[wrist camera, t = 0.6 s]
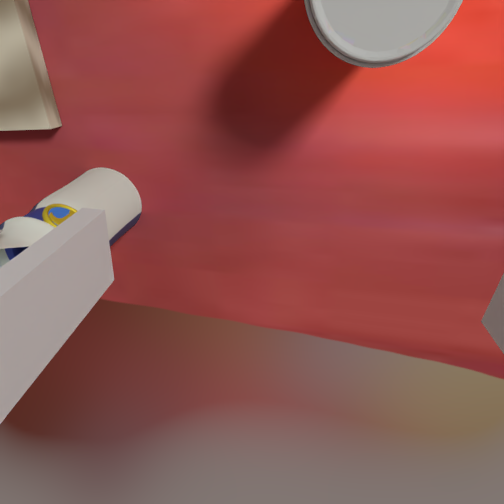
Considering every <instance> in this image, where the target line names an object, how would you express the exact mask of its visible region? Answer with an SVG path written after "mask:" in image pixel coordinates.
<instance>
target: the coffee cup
mask: <svg viewBox="0 0 504 504" xmlns="http://www.w3.org/2000/svg"><path fill="white" fill-rule="evenodd" d="M462 1H463V0H304V3H305V7H306V12H307V15H308V18H309V21H310V24H311V26H312V28H313V30H314V32H315V34H316V35H317V37H318V38H319V40H320V41H321V42H322V44H323V45H324V46H325V47H326V48H327V49H328V50H329V51H330V52H331V53H332V54H334V55H335V56H336V57H338V58H340V59H341V60H343V61H345V62H347V63H350V64H353V65H356V66H361V67H369V68H376V67H385V66H390V65H394V64H397V63H400V62H402V61H405V60H407V59H409V58H411V57H413V56H415V55H416V54H418V53H419V52H421V51H422V50H424V49H425V48H426V47H428V46H429V45H430V44H431V43H432V42H433V41H434V40H435V39H436V38H438V37H439V35H440V34H441V33H442V32H443V31H444V30H445V29H446V27H447V26H448V25H449V23H450V22H451V20H452V19H453V17H454V16H455V14H456V13H457V11H458V9H459V7H460V5H461V3H462Z"/></svg>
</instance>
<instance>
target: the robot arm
mask: <svg viewBox="0 0 504 504" xmlns="http://www.w3.org/2000/svg"><path fill="white" fill-rule="evenodd" d="M113 281H114V274H113V267H112V259H111V252H110V244H109V237H108V229H107V222H106V214H105V210H101V209H91V208H81V209H80V210H79V211H77V212H76V213H74V214H73V215H72V216H70V217H69V218H68V219H66V220H65V221H64V222H62V223H61V224H59V225H58V226H57V227H55V228H54V229H53V230H51V231H50V232H49V233H47V234H46V235H44V236H43V237H42V238H40V239H39V240H38V241H36V242H35V243H33V244H32V245H31V246H29V247H28V248H27V249H25V250H24V251H23V252H21V253H20V254H18V255H17V256H16V257H14V258H13V259H12V260H10V261H9V262H7V263H6V264H5V265H3V266H2V267H1V268H0V424H1V422H2V421H3V420H4V418H5V417H6V416H7V415H8V413H9V412H10V411H11V410H12V408H13V407H14V406H15V405H16V403H17V402H18V401H19V400H20V398H21V397H22V396H23V394H24V393H25V392H26V390H27V389H28V388H29V387H30V386H31V384H32V383H33V382H34V381H35V379H36V378H37V377H38V375H39V374H40V373H41V372H42V370H43V369H44V368H45V367H46V365H47V364H48V363H49V361H50V360H51V359H52V358H53V356H54V355H55V354H56V353H57V351H58V350H59V349H60V347H61V346H62V345H63V344H64V342H65V341H66V340H67V339H68V338H69V336H70V335H71V334H72V333H73V331H74V330H75V329H76V327H77V326H78V325H79V324H80V322H81V321H82V320H83V319H84V317H85V316H86V315H87V314H88V312H89V311H90V310H91V308H92V307H93V306H94V305H95V303H96V302H97V301H98V300H99V298H100V297H101V296H102V295H103V293H104V292H105V291H106V290H107V288H108V287H109V286H110V284H111V283H112V282H113ZM481 322H482V324H483V325H484V326H485V328H486V329H487V331H488V332H489V334H490V335H491V336H492V338H493V339H494V341H495V342H496V343H497V345H498V346H499V348H500V349H501V351H502V352H503V353H504V274H503V276H502V278H501V280H500V282H499V284H498V287H497V289H496V291H495V293H494V295H493V297H492V299H491V302H490V304H489V306H488V308H487V310H486V312H485V314H484V316H483V319H482V321H481Z"/></svg>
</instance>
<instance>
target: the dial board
mask: <svg viewBox="0 0 504 504" xmlns="http://www.w3.org/2000/svg"><path fill="white" fill-rule="evenodd" d="M60 126H62V124H61V120H60V117H59V113H58V109H57V106H56V102H55V98H54V95H53V91H52V87H51V84H50V80H49V76H48V73H47V69H46V65H45V62H44V58H43V54H42V51H41V47H40V43H39V40H38V36H37V32H36V29H35V25H34V21H33V18H32V14H31V10H30V7H29V3H28V0H0V131H10V130H39V129H53V128H56V127H60Z"/></svg>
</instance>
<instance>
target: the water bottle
mask: <svg viewBox="0 0 504 504" xmlns="http://www.w3.org/2000/svg"><path fill="white" fill-rule="evenodd" d="M81 208H91V209H101V210H105V214H106V222H107V229H108V237H109V244H110V246H111V245H112V244H113V243H115V242H116V241H117V240H118V239H119V238H120V237H121V236H122V235H123V234H125V233H126V232H127V231H128V230H129V229H130V228H132V227H133V226H134V225H135V224H136V223H137V221H138V220H139V218H140V215H141V209H142V205H141V199H140V196H139V193H138V191H137V189H136V188H135V186H134V185H133V183H132V182H131V181H130V180H129V179H128V178H127V177H126V176H124V175H123V174H121V173H119V172H117V171H115V170H112V169H109V168H94V169H91V170H88V171H87V172H85V173H84V174H82V175H81V176H79V177H78V178H76V179H75V180H73V181H72V182H70V183H69V184H67V185H66V186H64V187H63V188H61V189H59V190H58V191H56V192H54V193H52V194H51V195H49V196H48V197H46V198H44V199H43V200H41V201H40V202H39V203H37V204H36V205H35V206H34V207H33V209H32V210H31V211H30V212H29V213H28V214H27V215H25V216H23V217H15V218H11V219H9V220H7V221H5V222H3V223H2V224H1V225H0V268H1V267H2V266H3V265H5V264H6V263H7V262H9V261H10V260H12V259H13V258H14V257H16V256H17V255H18V254H20V253H21V252H23V251H24V250H25V249H27V248H28V247H29V246H31V245H32V244H33V243H35V242H36V241H38V240H39V239H40V238H42V237H43V236H44V235H46V234H47V233H49V232H50V231H51V230H53V229H54V228H55V227H57V226H58V225H59V224H61V223H62V222H64V221H65V220H66V219H68V218H69V217H70V216H72V215H73V214H74V213H76V212H77V211H79V210H80V209H81Z"/></svg>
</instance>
